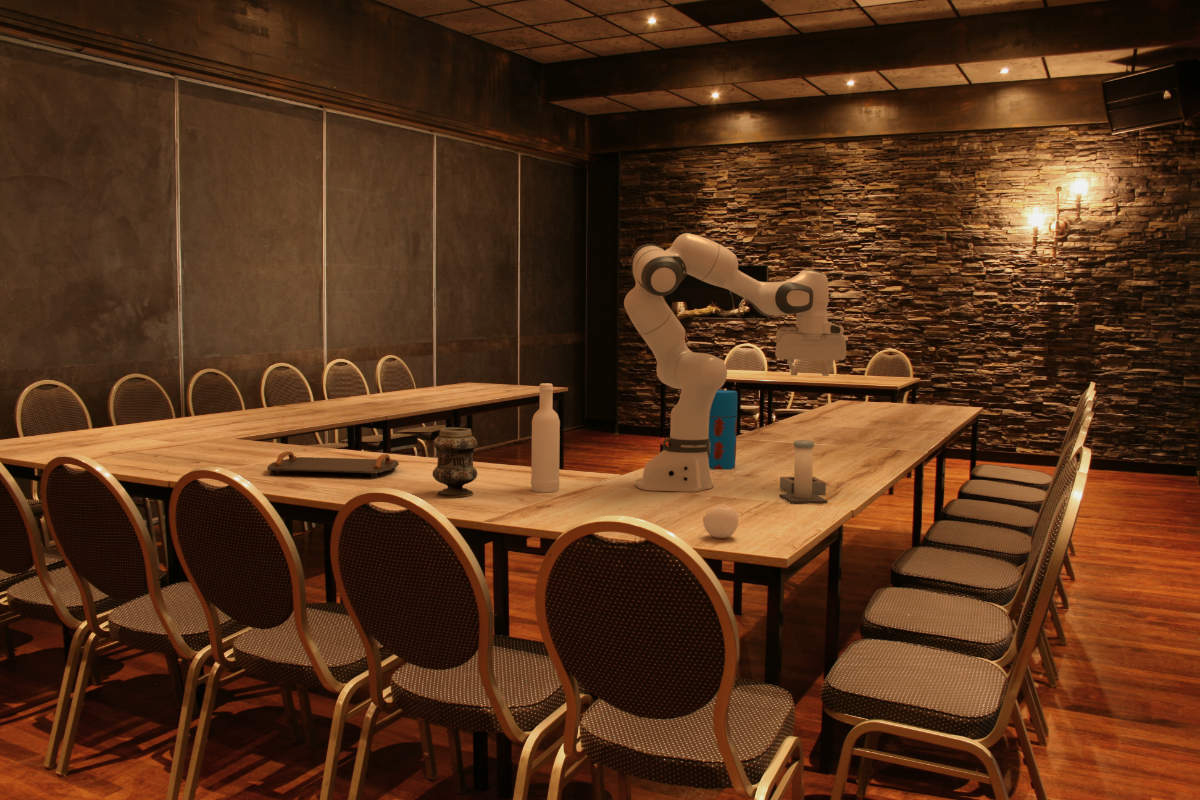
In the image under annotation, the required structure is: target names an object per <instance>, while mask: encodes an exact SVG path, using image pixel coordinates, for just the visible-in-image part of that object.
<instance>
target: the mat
mask: <svg viewBox="0 0 1200 800" xmlns="http://www.w3.org/2000/svg"><path fill="white" fill-rule="evenodd" d="M779 498H781V499H782V498H783V499H782V500H784V499H785V500H784V501H785V502H787V501H788V502H787V503H789V502H790V503H789V504H791V505H797V504H798V505H804V504H803V503H827V504H828V500H827V499H825V498H823V497H822V496H821V495H816V494H812V498H809V499H800V498H795V497H794V494H788V493H779ZM792 503H793V504H792Z"/></svg>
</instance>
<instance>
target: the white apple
mask: <svg viewBox="0 0 1200 800" xmlns="http://www.w3.org/2000/svg"><path fill="white" fill-rule="evenodd" d="M702 524H703V527H704V529H705V530H706V532H707V533H708V534H709V535H710V536H712V537H713V538H716V539H727V538H730V537H731V536H733V534H734V533H735V531H736V530H737V528H738V524H739V515H738V513H737V510H736V509H735V508H734V507H733V506H728V505H726V504H716V505H715V506H714V507H712V508H710V509H709V510H707V512H705V515H704V516H703V517H702Z"/></svg>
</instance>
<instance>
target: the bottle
mask: <svg viewBox="0 0 1200 800" xmlns="http://www.w3.org/2000/svg"><path fill="white" fill-rule="evenodd" d="M538 388H539V389H538V391H539V409H537V411H535V413H534V414H533V416H532V419H531V474H530V475H531V477H530V484H531V486H530V487H531V488H530V489H531V491H533V492H535V493H543V494H544V493H556V492H558V491H559V490H560V444H561V443H560V441H561V440H560V438H561V436H560V434H561V433H560V431H561V429H560V427H561V420H560V417H559V414H558V413H557V411H555V410H554V409H553V404H554V403H553V397H554V396H553V395H554V394H553V392H554V386H553V384H552V383H547V382H546V383H540V384H539V387H538Z"/></svg>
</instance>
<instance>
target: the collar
mask: <svg viewBox="0 0 1200 800" xmlns="http://www.w3.org/2000/svg"><path fill="white" fill-rule="evenodd" d="M779 477H780V478H779V490H781V489H782V491H783V490H784V491H783V492H785V491H786V492H787V493H786V492H785V493H786V494H788V493H789V494H794V476H779ZM826 488H827V482H826V481H824V480H821V479H819V478H818V477H816V476H812V494H816V495H818V496H824V495H823V494H825V495H826V494H827V493H826V491H827V490H826Z"/></svg>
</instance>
